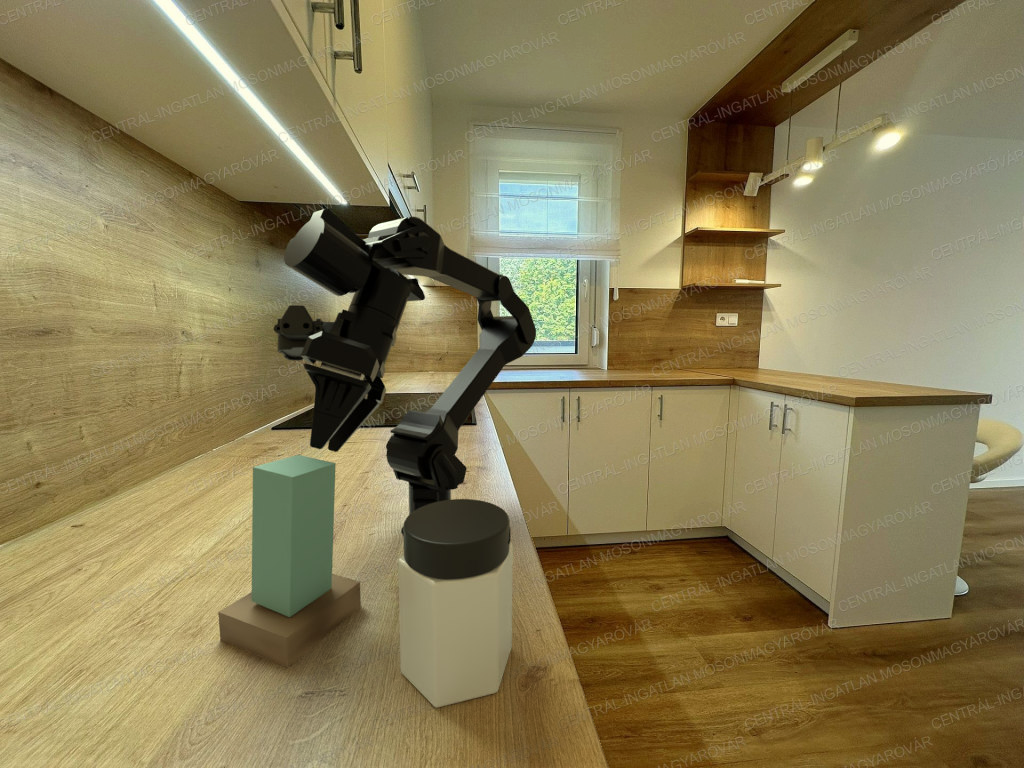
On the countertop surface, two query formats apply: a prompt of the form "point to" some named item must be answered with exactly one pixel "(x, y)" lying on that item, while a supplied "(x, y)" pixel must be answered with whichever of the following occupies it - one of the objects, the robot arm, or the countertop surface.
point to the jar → (455, 599)
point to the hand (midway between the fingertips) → (324, 449)
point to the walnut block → (288, 623)
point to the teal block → (292, 532)
